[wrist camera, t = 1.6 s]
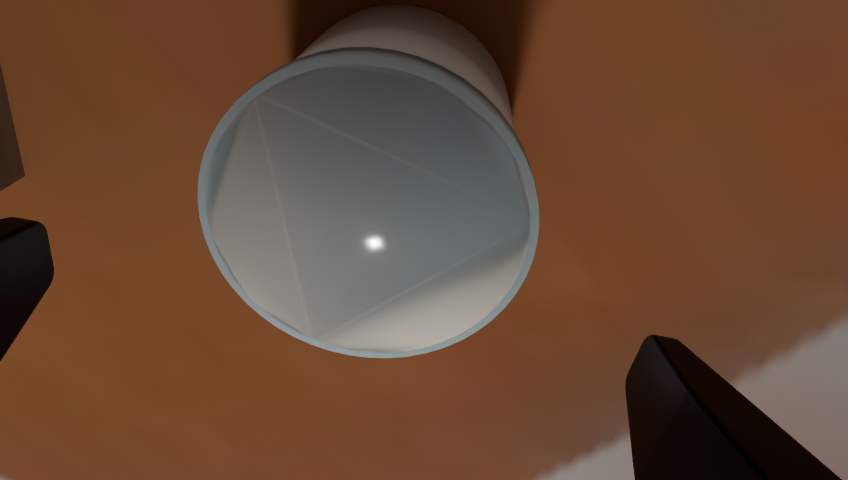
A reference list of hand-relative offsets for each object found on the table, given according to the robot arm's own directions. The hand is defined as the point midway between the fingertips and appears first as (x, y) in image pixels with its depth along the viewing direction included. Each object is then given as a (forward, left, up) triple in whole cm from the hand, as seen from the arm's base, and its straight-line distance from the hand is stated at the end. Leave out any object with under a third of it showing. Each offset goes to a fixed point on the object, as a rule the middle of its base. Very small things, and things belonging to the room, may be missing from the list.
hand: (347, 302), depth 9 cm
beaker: (0, 0, -8) cm, 8 cm away
